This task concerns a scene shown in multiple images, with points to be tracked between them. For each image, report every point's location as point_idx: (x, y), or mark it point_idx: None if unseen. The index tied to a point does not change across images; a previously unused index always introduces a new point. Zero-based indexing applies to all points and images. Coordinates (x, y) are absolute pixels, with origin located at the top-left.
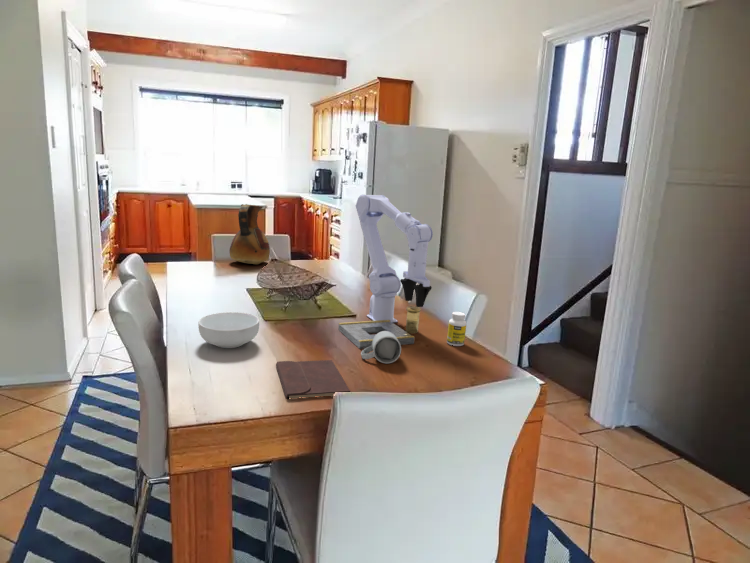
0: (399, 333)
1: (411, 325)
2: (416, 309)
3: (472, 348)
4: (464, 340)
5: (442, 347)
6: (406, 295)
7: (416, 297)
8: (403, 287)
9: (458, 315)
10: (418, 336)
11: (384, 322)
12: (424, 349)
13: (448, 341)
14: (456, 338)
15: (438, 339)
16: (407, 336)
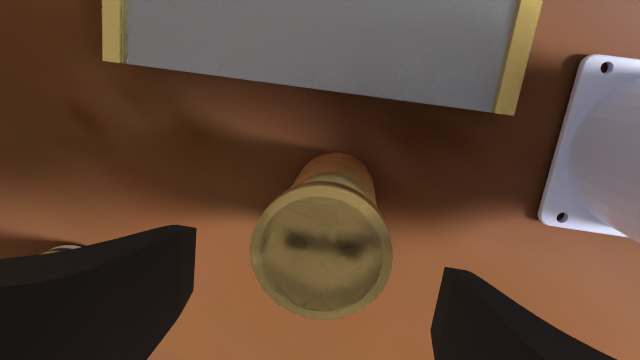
0: (209, 6)
1: (299, 176)
2: (268, 252)
3: None
4: None
5: (43, 183)
6: (464, 300)
7: (107, 250)
8: (585, 352)
9: None
10: (241, 173)
11: (483, 46)
12: (33, 65)
13: (66, 249)
14: None
15: None
16: (114, 11)
